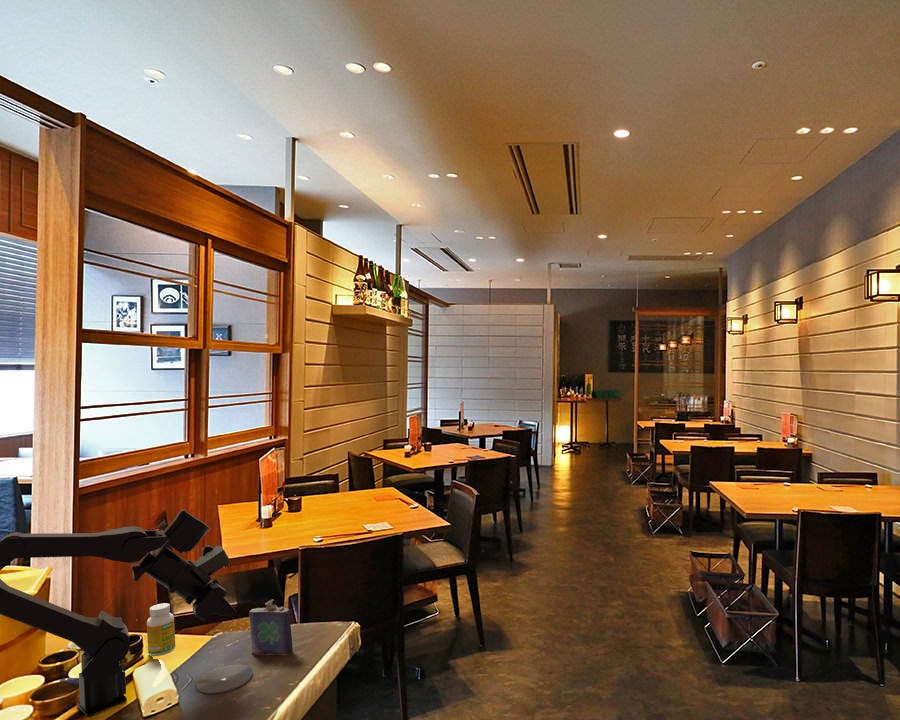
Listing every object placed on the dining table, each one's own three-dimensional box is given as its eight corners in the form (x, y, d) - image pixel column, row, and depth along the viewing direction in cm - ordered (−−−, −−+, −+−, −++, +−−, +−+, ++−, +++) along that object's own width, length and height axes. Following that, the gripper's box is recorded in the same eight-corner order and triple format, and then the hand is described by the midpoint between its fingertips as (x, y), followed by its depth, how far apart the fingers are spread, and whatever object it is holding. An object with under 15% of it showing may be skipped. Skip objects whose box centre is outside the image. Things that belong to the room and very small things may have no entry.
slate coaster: (211, 699, 106) (211, 696, 106) (187, 683, 113) (187, 680, 113) (262, 676, 113) (261, 673, 114) (236, 662, 120) (236, 659, 120)
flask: (249, 654, 124) (246, 603, 124) (256, 648, 126) (254, 598, 127) (289, 656, 122) (286, 603, 122) (296, 649, 125) (293, 598, 125)
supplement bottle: (164, 657, 125) (162, 611, 126) (142, 656, 126) (140, 611, 127) (180, 646, 131) (178, 601, 131) (159, 645, 132) (157, 601, 132)
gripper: (211, 545, 111) (274, 590, 116) (195, 529, 126) (250, 569, 132) (168, 598, 106) (234, 642, 112) (156, 574, 122) (215, 614, 127)
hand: (235, 613), depth 121 cm, fingers closed
